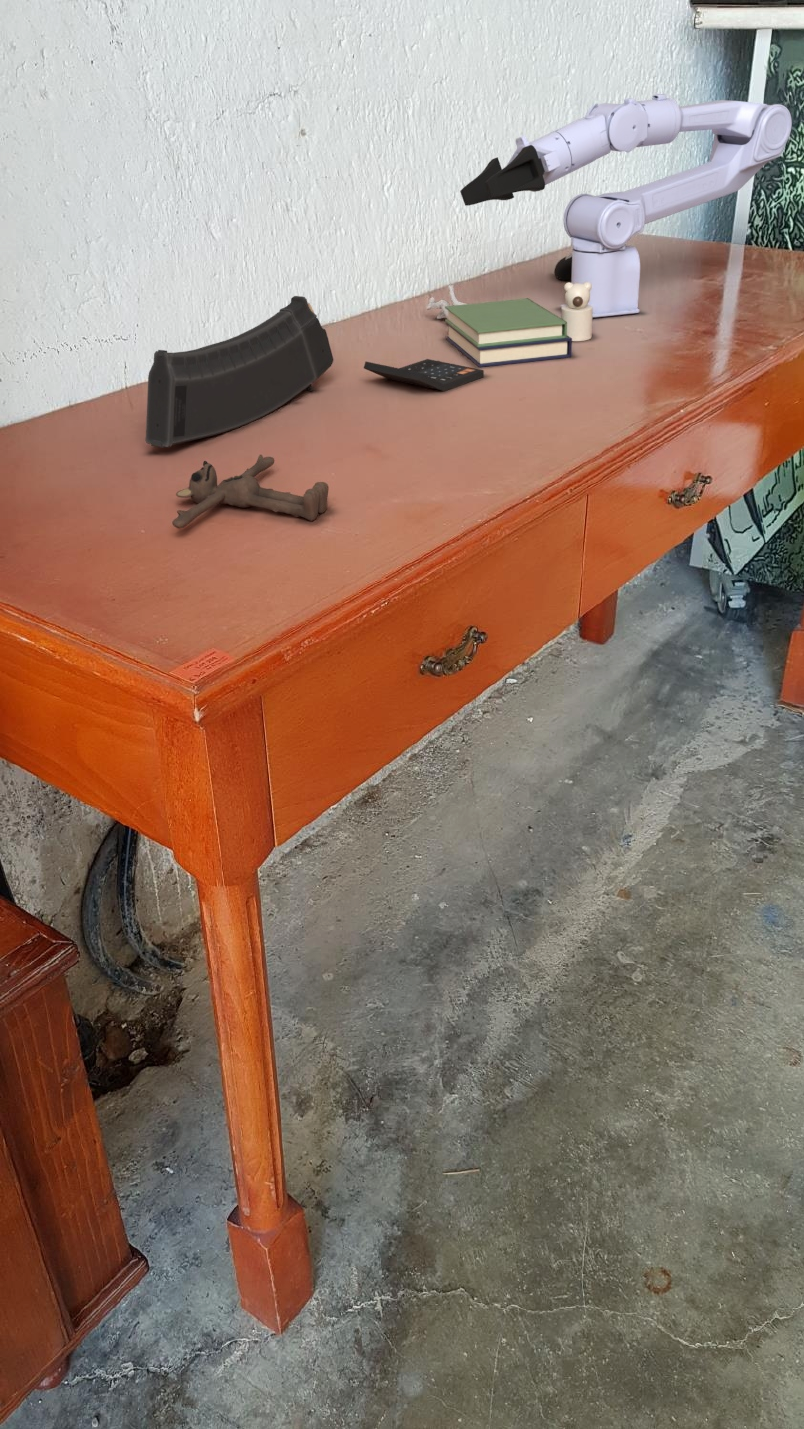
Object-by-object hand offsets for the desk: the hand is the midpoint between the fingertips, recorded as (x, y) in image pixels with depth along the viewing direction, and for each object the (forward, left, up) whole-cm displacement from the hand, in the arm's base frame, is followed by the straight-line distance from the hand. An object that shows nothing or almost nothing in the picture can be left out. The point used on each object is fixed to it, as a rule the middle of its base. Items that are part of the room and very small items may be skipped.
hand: (475, 194), depth 152 cm
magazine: (+36, +28, -18) cm, 49 cm away
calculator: (+13, +21, -18) cm, 31 cm away
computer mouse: (-29, -29, -18) cm, 44 cm away
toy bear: (-12, +8, -18) cm, 23 cm away
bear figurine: (+39, +56, -18) cm, 71 cm away
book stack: (-1, +10, -18) cm, 21 cm away
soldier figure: (+1, -5, -18) cm, 19 cm away
